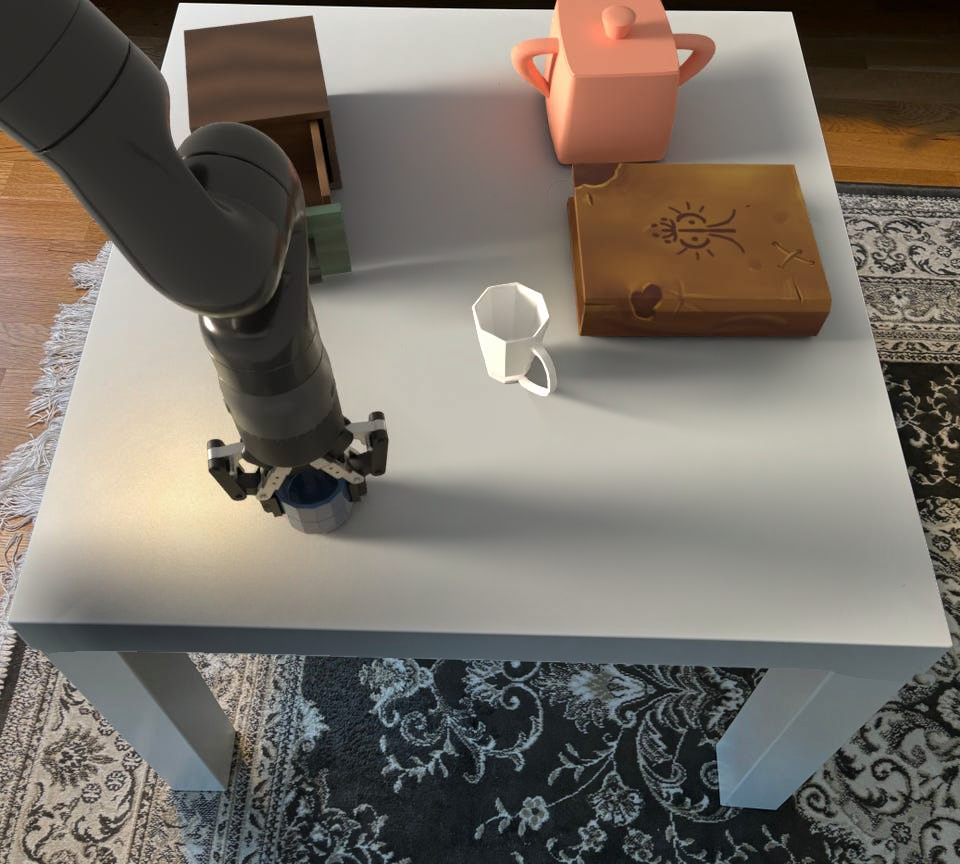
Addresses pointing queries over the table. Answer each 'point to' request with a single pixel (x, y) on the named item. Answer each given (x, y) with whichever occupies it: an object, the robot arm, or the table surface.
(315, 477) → the blue faceted tumbler
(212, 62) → the cabinet
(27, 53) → the robot arm
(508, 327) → the cup
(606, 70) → the pink lidded sugar bowl
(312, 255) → the drawer
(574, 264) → the diary
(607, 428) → the table surface
